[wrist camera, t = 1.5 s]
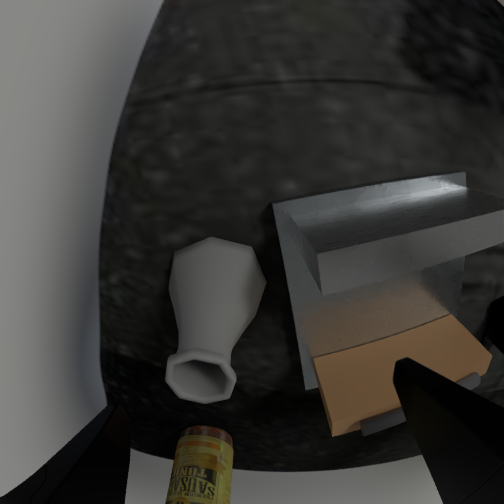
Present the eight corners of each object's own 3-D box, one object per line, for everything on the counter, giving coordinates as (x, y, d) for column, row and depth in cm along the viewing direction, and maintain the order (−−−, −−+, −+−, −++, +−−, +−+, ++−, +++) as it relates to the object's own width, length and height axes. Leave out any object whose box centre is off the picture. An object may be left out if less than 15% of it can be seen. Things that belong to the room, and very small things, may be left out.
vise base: (446, 336, 24) (486, 383, 16) (303, 382, 25) (319, 451, 17) (457, 170, 18) (528, 187, 11) (270, 201, 19) (289, 236, 11)
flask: (177, 325, 22) (146, 423, 13) (161, 239, 20) (100, 313, 10) (267, 321, 22) (281, 424, 13) (264, 232, 20) (283, 308, 10)
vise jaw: (448, 330, 22) (492, 381, 14) (314, 374, 23) (335, 449, 15) (451, 314, 21) (500, 364, 14) (312, 358, 22) (335, 436, 14)
